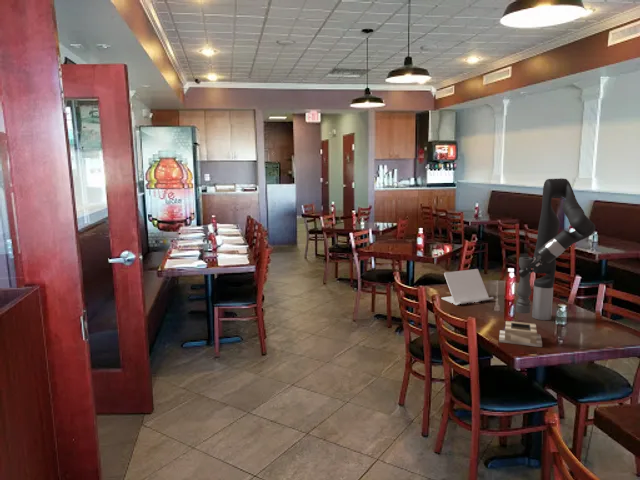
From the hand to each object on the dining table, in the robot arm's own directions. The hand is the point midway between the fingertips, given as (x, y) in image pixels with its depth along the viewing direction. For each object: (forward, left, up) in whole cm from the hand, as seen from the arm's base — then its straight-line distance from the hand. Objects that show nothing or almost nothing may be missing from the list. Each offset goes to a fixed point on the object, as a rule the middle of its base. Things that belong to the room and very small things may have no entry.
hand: (520, 274), depth 218 cm
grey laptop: (-59, -27, -31) cm, 72 cm away
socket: (0, +1, -31) cm, 31 cm away
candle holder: (0, +2, -17) cm, 18 cm away
